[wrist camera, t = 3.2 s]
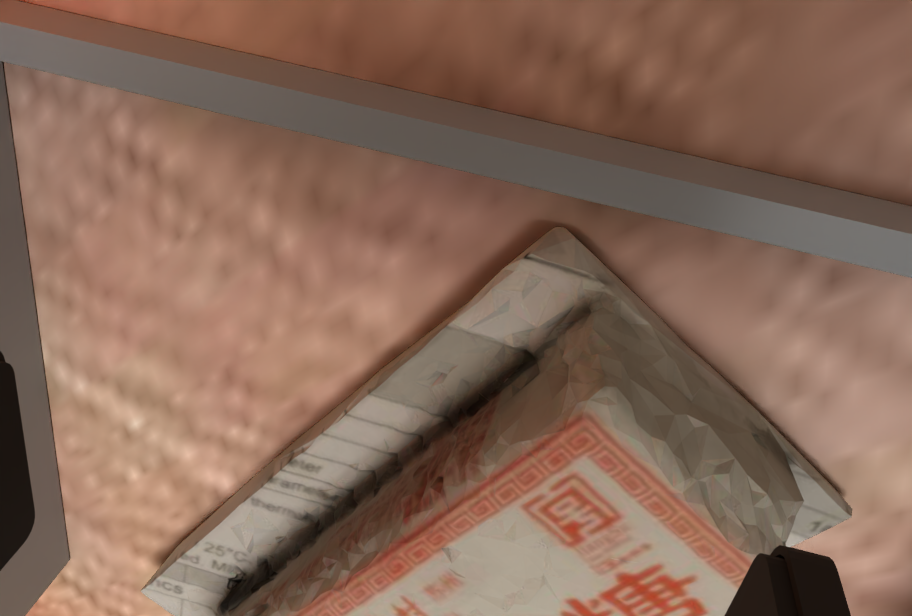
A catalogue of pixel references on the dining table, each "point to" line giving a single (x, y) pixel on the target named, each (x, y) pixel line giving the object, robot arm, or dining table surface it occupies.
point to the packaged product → (515, 474)
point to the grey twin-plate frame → (391, 131)
